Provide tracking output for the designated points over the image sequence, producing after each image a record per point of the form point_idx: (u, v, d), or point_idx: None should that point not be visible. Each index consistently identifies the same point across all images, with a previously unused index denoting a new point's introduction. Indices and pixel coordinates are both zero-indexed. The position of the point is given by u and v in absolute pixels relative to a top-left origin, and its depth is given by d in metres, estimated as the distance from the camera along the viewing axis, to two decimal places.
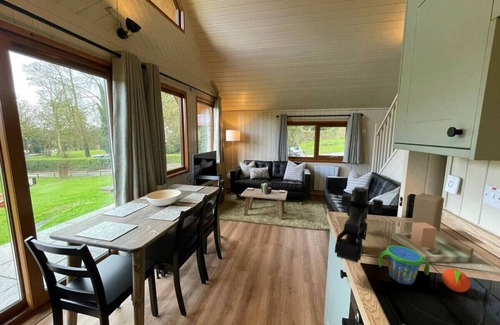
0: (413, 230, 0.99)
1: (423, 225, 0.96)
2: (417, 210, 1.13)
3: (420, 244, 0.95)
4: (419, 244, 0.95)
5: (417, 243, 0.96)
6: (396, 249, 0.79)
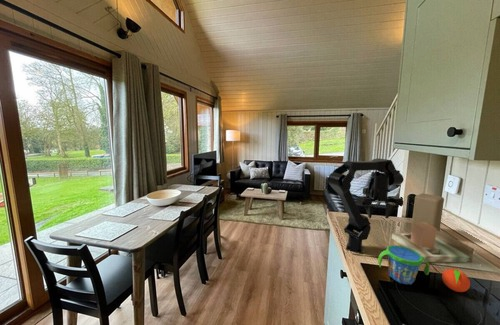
0: (413, 230, 0.99)
1: (423, 225, 0.96)
2: (417, 210, 1.13)
3: (420, 244, 0.95)
4: (419, 244, 0.95)
5: (417, 243, 0.96)
6: (396, 249, 0.79)
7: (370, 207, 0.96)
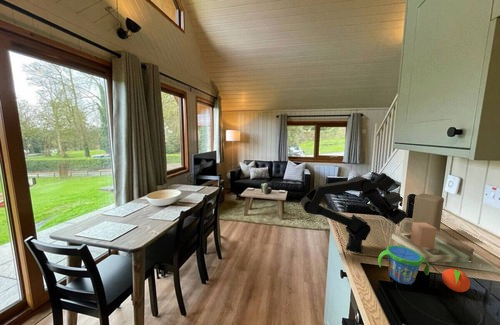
0: (413, 230, 0.99)
1: (423, 225, 0.96)
2: (417, 210, 1.13)
3: (420, 244, 0.95)
4: (419, 244, 0.95)
5: (417, 243, 0.96)
6: (396, 249, 0.79)
7: (381, 215, 0.98)
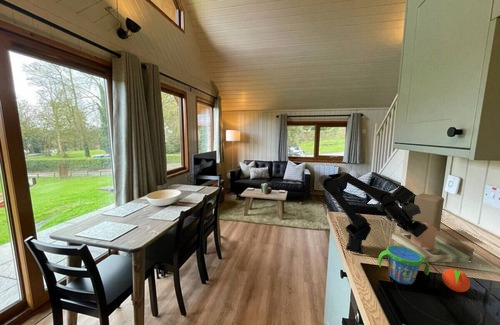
0: None
1: None
2: None
3: (420, 244, 0.95)
4: (419, 244, 0.95)
5: (417, 243, 0.96)
6: (396, 249, 0.79)
7: (399, 226, 0.98)
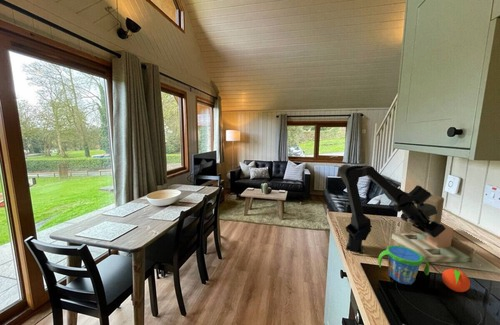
0: None
1: None
2: None
3: (436, 244, 0.95)
4: (435, 244, 0.95)
5: (433, 243, 0.96)
6: (396, 249, 0.79)
7: None
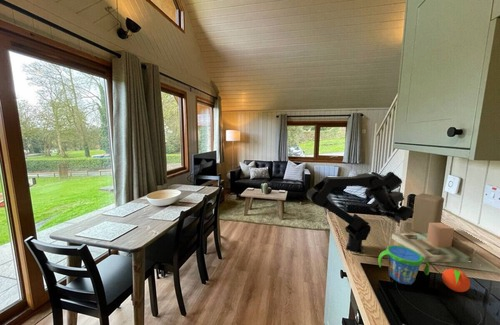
0: (429, 230, 0.99)
1: (439, 225, 0.96)
2: (417, 210, 1.13)
3: (437, 244, 0.95)
4: (436, 244, 0.95)
5: (434, 243, 0.96)
6: (396, 249, 0.79)
7: (384, 215, 0.98)
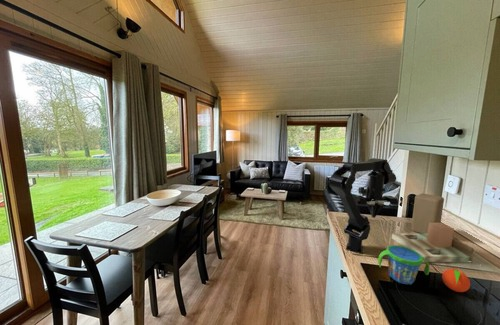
0: (429, 230, 0.99)
1: (439, 225, 0.96)
2: (417, 210, 1.13)
3: (437, 244, 0.95)
4: (436, 244, 0.95)
5: (434, 243, 0.96)
6: (396, 249, 0.79)
7: (373, 206, 0.97)
